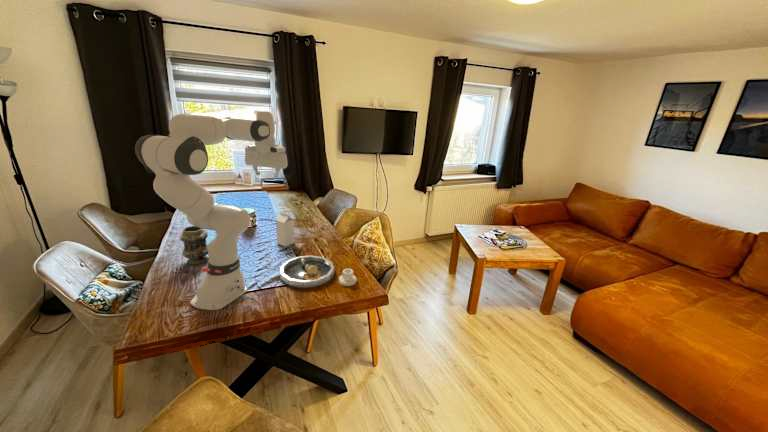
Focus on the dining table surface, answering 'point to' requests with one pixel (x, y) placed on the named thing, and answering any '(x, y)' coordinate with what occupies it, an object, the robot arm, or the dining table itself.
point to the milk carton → (285, 230)
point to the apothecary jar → (195, 245)
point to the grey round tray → (306, 271)
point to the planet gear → (347, 277)
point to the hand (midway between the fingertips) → (266, 176)
